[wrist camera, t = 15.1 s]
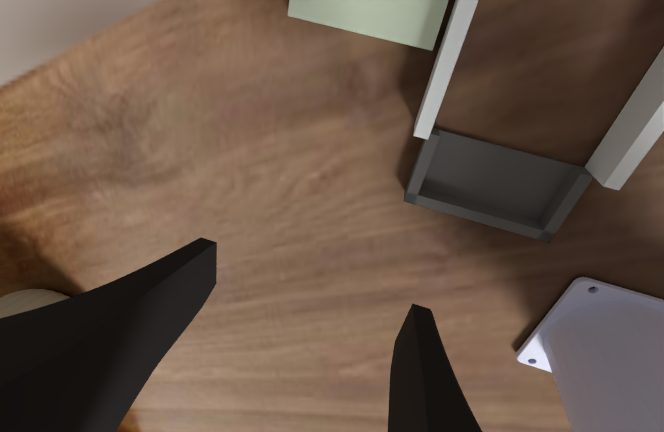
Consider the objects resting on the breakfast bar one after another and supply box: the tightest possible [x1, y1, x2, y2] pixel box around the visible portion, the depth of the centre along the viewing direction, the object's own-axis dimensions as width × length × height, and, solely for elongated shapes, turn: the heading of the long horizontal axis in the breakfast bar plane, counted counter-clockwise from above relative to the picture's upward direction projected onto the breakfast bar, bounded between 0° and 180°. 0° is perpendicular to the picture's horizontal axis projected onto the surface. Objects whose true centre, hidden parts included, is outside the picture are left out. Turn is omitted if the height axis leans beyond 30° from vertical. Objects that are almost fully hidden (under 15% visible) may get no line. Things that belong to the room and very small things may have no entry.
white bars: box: [413, 0, 664, 190], centre depth 14 cm, size 9×12×2 cm
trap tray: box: [404, 128, 594, 243], centre depth 18 cm, size 8×4×1 cm, turn 79°
